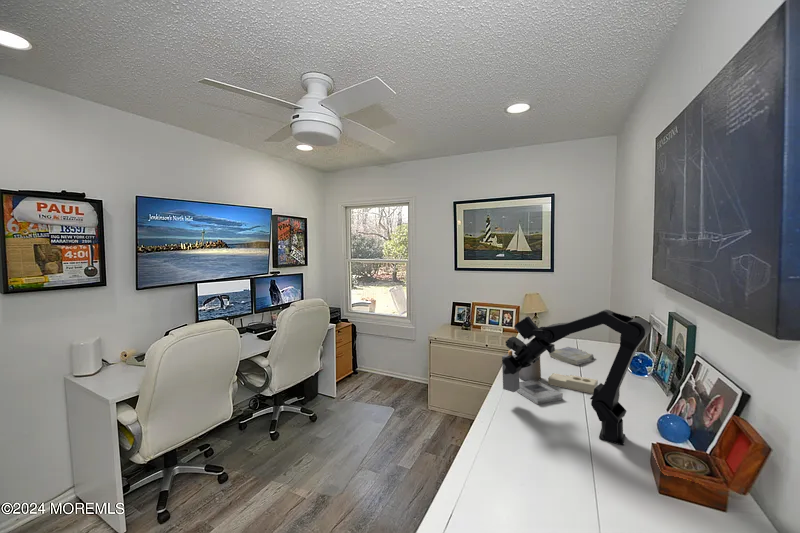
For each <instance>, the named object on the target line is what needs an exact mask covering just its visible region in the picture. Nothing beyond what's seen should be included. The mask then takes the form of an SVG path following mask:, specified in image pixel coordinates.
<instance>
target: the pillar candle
mask: <svg viewBox="0 0 800 533" xmlns="http://www.w3.org/2000/svg"><path fill="white" fill-rule="evenodd" d="M541 370H542V368H541V356H540V357H539V360H538V361H537V362H536V363H534V364H533V363H531V365H530V366H528V367H525V368H521V370H520V371H519V380H523V381H529V380H534V379H535V380H537V381H539V382H540V380H541V379H542V371H541Z"/></svg>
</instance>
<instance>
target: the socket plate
mask: <svg viewBox="0 0 800 533" xmlns="http://www.w3.org/2000/svg"><path fill="white" fill-rule="evenodd" d="M519 385H520V389H518V390H517V393H518V392H519V393H518V394H520V395H521V394H522V396H523V397H525V398H526V399H527V400H529V399H530V401H531V402H533V403H535V404H536V405H537V406H538V405H542V404H547V403H552V402H556V401H561V400H563V399H564V398H563V393H562V392H560V391H559V390H556V389H554V388H553V387H551V386H549V385H548V384H545V383H543V382H541V381H540V380H539V381H537V380H535V379H534V380H529V381H526V380H523V381H519Z"/></svg>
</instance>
